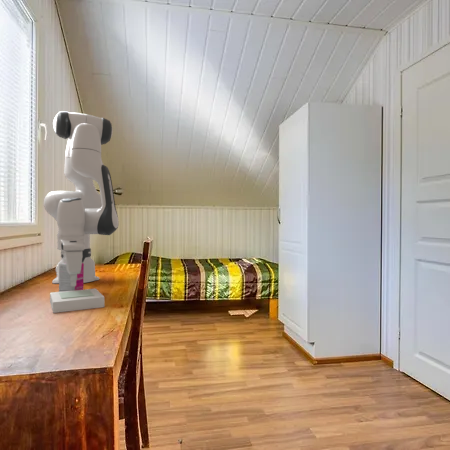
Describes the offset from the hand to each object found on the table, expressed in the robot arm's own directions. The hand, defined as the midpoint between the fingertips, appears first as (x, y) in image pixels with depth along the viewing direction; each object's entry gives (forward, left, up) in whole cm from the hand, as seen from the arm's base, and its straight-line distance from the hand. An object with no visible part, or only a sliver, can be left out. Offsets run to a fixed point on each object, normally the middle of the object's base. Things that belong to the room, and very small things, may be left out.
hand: (71, 284), depth 122 cm
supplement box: (0, 0, -4) cm, 4 cm away
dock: (+14, 0, -4) cm, 14 cm away
